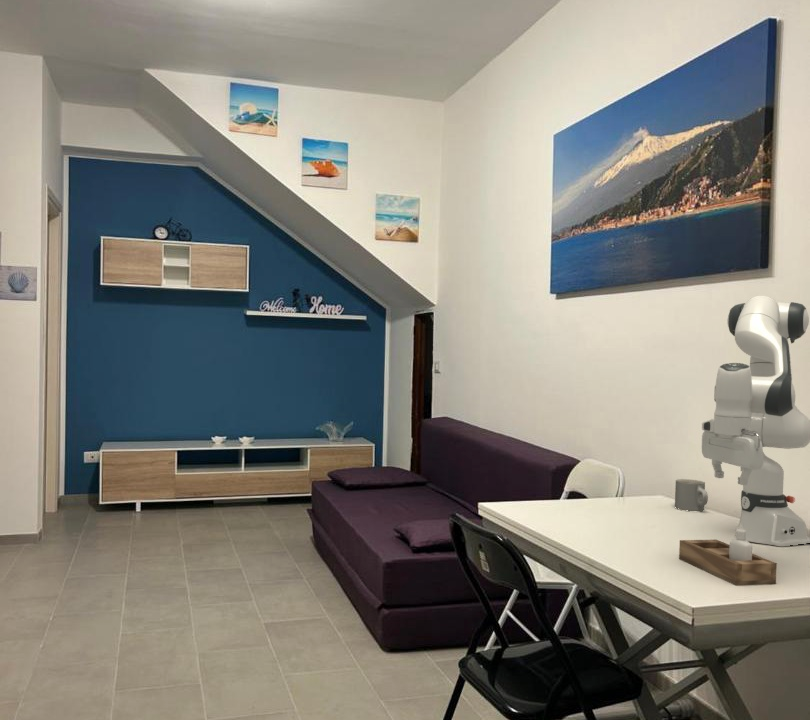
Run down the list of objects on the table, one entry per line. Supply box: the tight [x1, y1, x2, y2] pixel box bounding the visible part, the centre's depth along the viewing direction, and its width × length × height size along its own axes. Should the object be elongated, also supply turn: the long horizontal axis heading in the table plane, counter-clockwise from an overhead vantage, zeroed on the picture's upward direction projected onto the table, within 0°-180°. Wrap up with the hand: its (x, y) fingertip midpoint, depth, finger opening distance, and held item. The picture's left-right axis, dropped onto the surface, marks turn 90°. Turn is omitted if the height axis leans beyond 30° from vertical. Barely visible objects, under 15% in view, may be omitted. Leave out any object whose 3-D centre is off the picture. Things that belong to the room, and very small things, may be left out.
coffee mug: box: [674, 478, 709, 512], centre depth 282 cm, size 13×10×10 cm
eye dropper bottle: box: [729, 525, 753, 561], centre depth 194 cm, size 4×6×12 cm
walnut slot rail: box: [678, 539, 778, 586], centre depth 200 cm, size 11×24×5 cm, turn 13°
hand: (730, 481), depth 201 cm, fingers open, 8 cm apart
